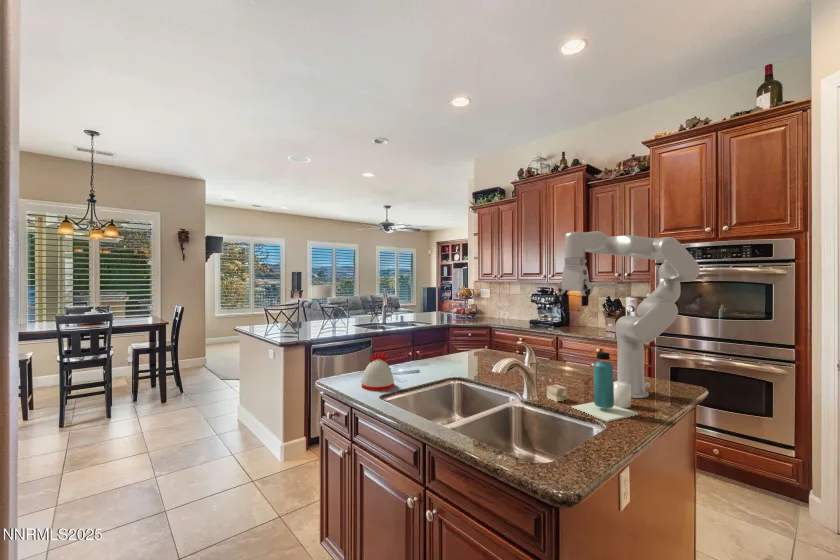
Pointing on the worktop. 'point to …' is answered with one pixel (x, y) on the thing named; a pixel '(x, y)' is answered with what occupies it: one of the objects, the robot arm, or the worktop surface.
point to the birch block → (556, 393)
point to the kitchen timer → (377, 374)
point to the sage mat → (605, 412)
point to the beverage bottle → (603, 382)
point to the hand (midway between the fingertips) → (574, 305)
